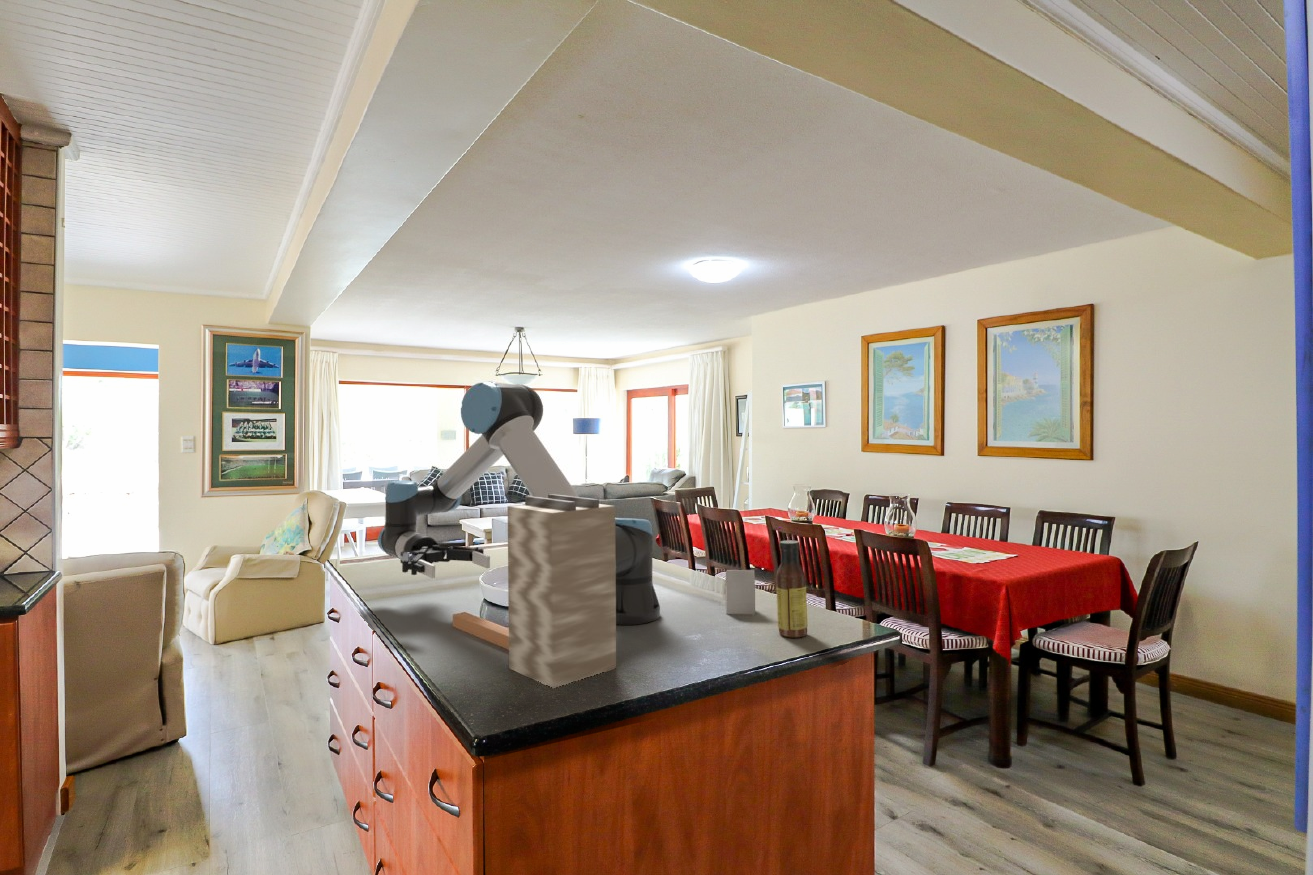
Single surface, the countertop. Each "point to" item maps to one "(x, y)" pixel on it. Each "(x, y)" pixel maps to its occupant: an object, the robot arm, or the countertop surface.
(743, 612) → the light grey block
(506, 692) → the countertop surface
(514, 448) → the robot arm
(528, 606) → the grey-brown tall block
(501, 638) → the orange bar
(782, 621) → the sauce bottle
